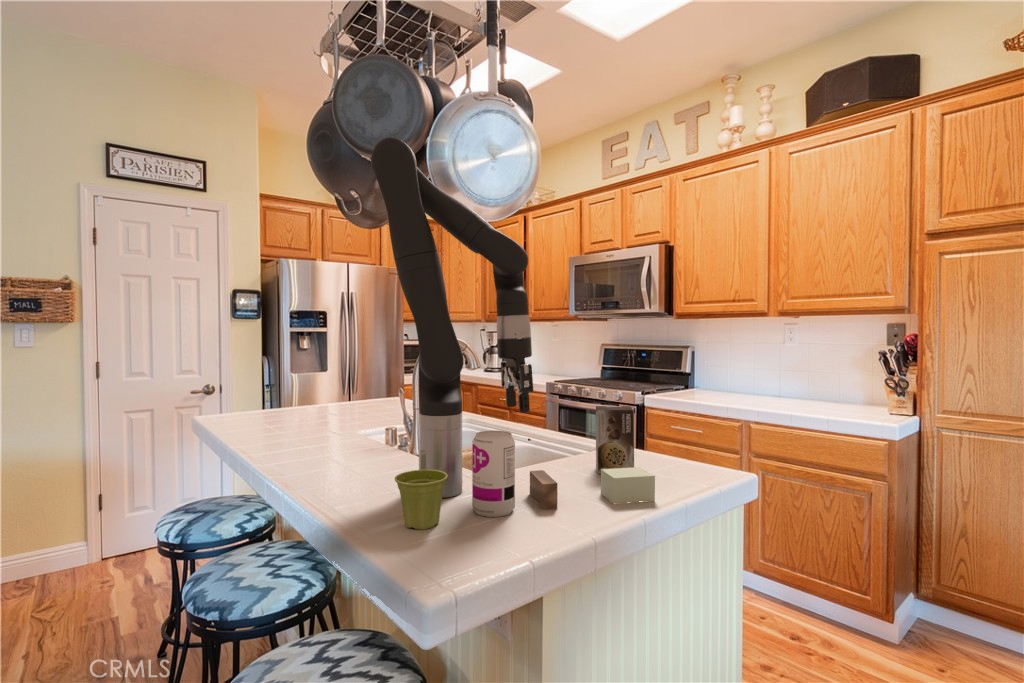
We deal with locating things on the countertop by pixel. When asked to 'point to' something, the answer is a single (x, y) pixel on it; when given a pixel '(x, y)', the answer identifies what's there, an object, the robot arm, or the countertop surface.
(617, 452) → the coffee box
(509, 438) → the supplement can
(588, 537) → the countertop surface
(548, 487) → the brown wooden block
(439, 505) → the plant pot
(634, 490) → the block
